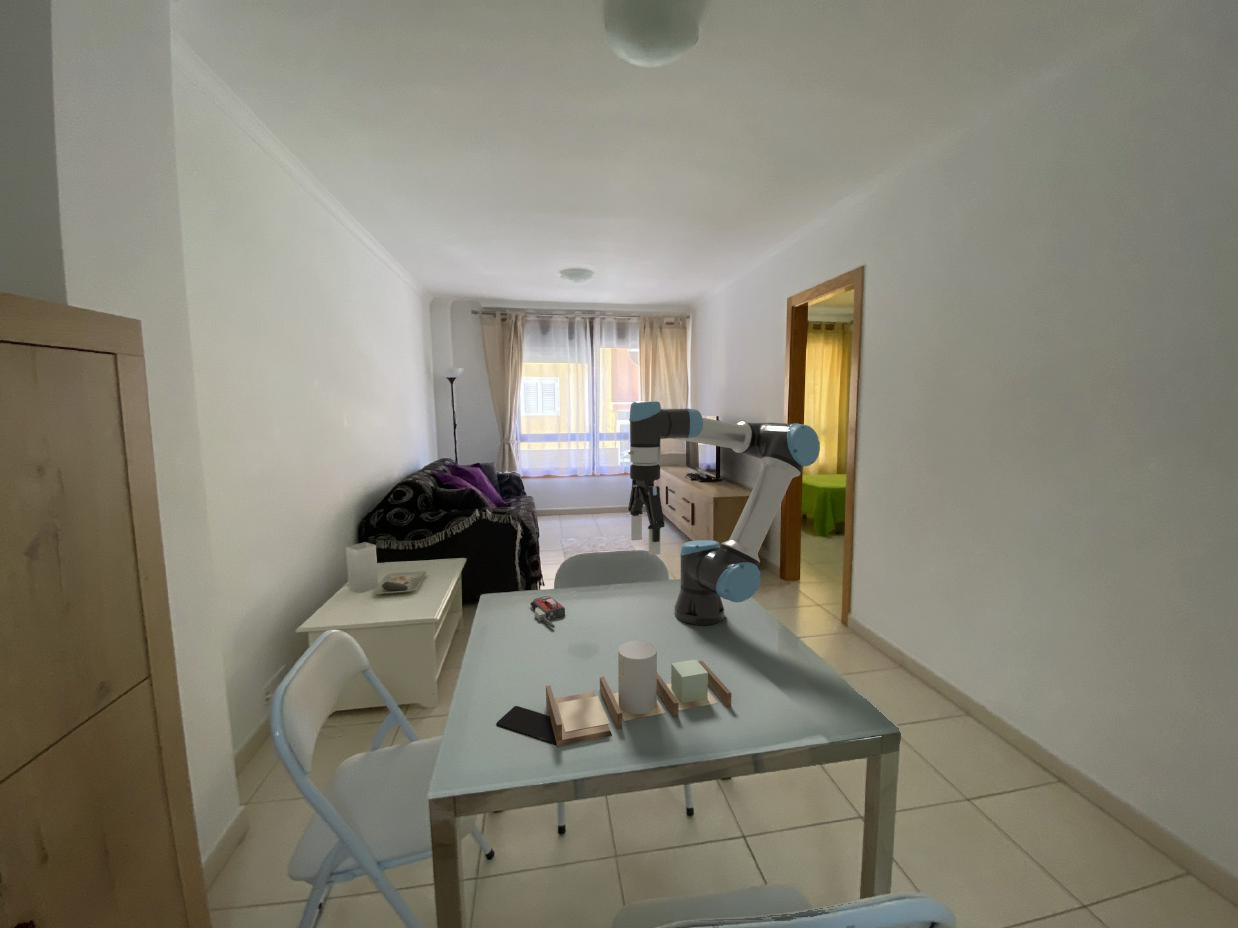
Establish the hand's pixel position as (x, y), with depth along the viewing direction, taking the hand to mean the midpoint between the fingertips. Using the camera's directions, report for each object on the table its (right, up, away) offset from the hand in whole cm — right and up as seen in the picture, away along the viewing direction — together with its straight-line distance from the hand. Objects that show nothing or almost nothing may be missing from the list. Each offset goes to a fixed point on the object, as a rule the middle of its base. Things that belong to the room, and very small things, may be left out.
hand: (645, 546), depth 129 cm
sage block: (+9, -30, -17) cm, 35 cm away
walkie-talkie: (-28, -26, +28) cm, 47 cm away
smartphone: (-24, -33, -25) cm, 48 cm away
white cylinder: (-3, -30, -20) cm, 36 cm away
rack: (-3, -31, -20) cm, 37 cm away
